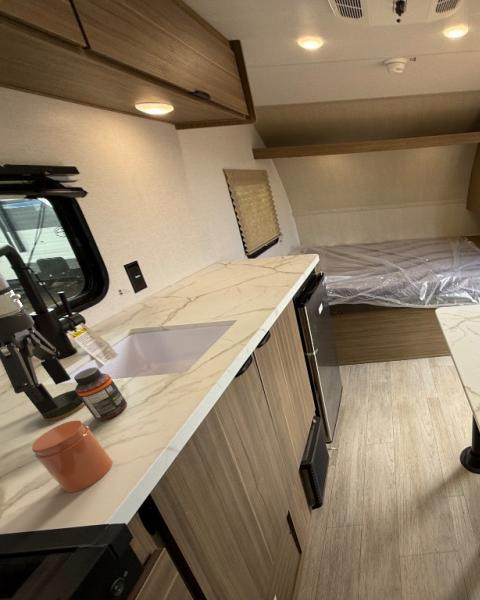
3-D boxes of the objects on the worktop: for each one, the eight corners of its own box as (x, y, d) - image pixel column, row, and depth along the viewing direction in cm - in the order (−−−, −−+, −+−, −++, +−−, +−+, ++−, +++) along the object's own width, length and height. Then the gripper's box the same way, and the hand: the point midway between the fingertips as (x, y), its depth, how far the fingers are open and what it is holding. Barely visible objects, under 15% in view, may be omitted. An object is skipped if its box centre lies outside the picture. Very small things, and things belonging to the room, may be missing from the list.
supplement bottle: (100, 409, 74) (74, 370, 70) (130, 399, 77) (107, 360, 72) (91, 426, 70) (62, 385, 65) (124, 414, 72) (98, 374, 67)
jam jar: (53, 493, 55) (17, 452, 51) (90, 458, 61) (60, 419, 57) (88, 492, 54) (54, 450, 50) (121, 457, 60) (94, 418, 56)
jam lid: (74, 412, 73) (69, 406, 73) (34, 422, 72) (29, 416, 71) (93, 391, 80) (89, 386, 79) (57, 400, 79) (53, 394, 78)
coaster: (34, 422, 73) (32, 419, 73) (69, 397, 80) (67, 395, 80) (65, 420, 72) (63, 417, 72) (97, 396, 80) (95, 393, 79)
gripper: (3, 328, 58) (67, 415, 67) (40, 294, 77) (86, 365, 86) (-59, 345, 54) (18, 435, 63) (-5, 304, 73) (49, 378, 82)
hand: (57, 395), depth 75 cm, fingers open, 13 cm apart
